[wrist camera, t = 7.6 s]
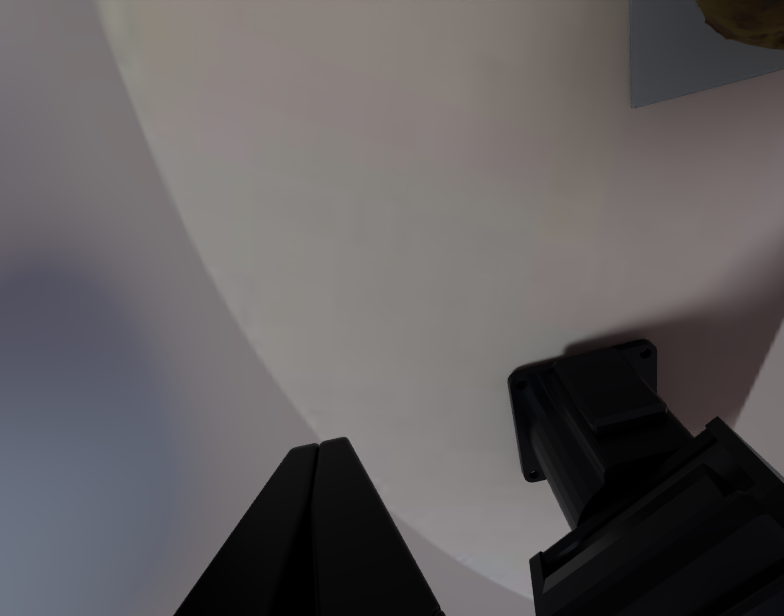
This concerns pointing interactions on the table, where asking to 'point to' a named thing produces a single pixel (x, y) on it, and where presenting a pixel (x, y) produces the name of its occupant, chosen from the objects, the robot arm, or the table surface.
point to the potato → (747, 21)
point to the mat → (686, 53)
